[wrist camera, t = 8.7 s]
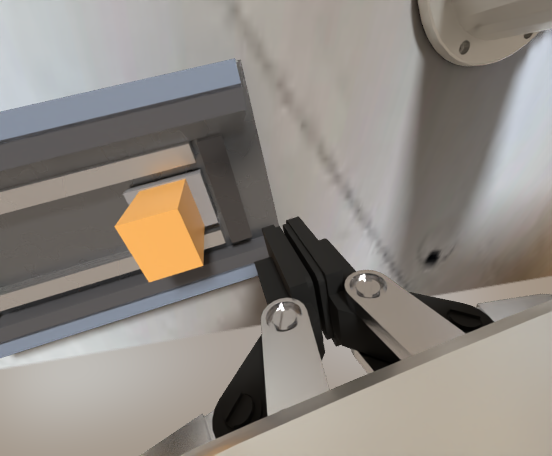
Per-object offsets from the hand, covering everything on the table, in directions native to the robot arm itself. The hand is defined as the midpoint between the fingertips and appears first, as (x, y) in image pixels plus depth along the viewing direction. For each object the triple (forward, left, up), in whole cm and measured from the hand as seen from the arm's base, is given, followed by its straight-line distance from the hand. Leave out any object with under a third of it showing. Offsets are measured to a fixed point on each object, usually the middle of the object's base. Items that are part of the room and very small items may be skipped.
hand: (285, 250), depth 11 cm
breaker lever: (+6, 0, -9) cm, 11 cm away
